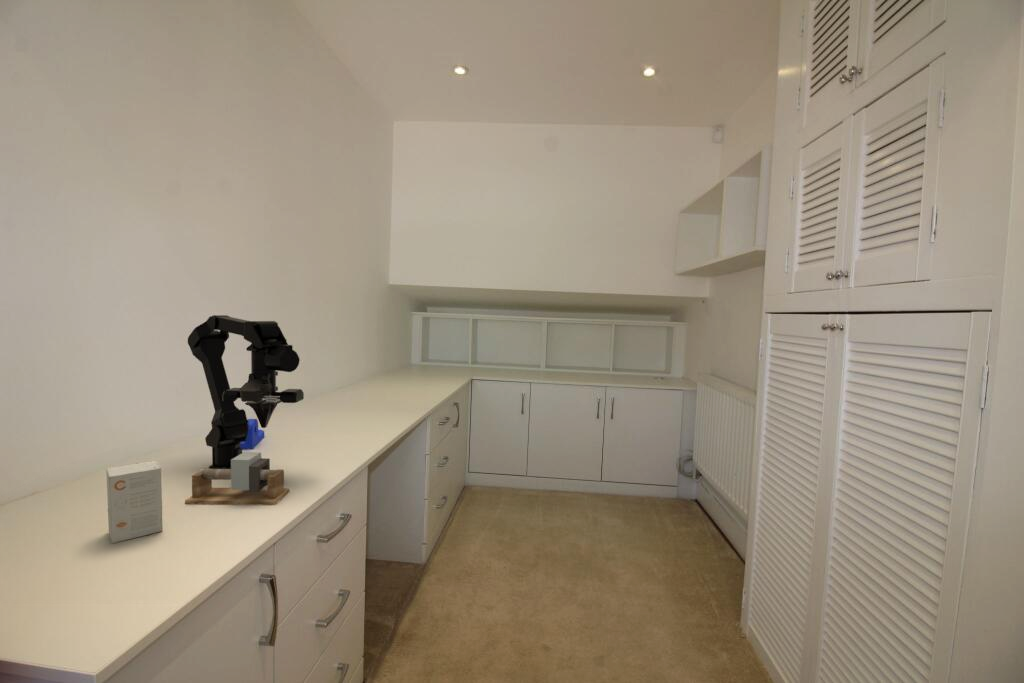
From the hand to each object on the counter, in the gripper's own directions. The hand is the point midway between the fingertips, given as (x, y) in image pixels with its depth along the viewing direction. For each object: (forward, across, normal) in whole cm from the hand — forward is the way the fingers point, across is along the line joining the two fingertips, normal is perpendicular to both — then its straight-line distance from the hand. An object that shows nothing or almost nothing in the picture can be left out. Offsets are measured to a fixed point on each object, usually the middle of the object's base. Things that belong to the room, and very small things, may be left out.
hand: (264, 427), depth 129 cm
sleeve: (+10, +3, -15) cm, 18 cm away
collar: (+11, +6, -15) cm, 19 cm away
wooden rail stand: (+13, +1, -15) cm, 20 cm away
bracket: (+13, -20, +32) cm, 40 cm away
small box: (+13, -10, -33) cm, 37 cm away
